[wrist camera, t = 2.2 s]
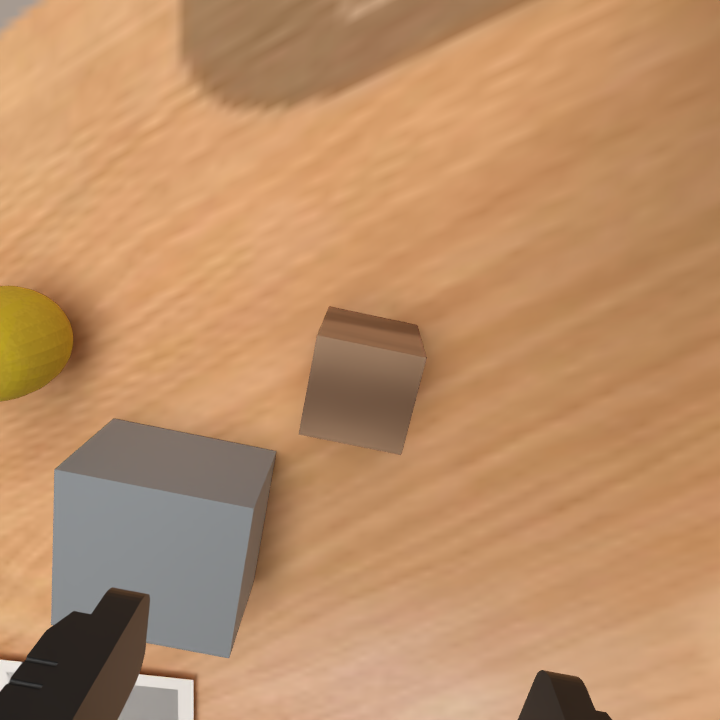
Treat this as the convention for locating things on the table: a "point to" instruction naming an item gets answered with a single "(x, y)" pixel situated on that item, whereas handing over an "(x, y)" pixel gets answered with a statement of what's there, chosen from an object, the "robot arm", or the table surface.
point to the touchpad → (142, 696)
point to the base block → (161, 530)
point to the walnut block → (363, 381)
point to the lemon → (30, 341)
